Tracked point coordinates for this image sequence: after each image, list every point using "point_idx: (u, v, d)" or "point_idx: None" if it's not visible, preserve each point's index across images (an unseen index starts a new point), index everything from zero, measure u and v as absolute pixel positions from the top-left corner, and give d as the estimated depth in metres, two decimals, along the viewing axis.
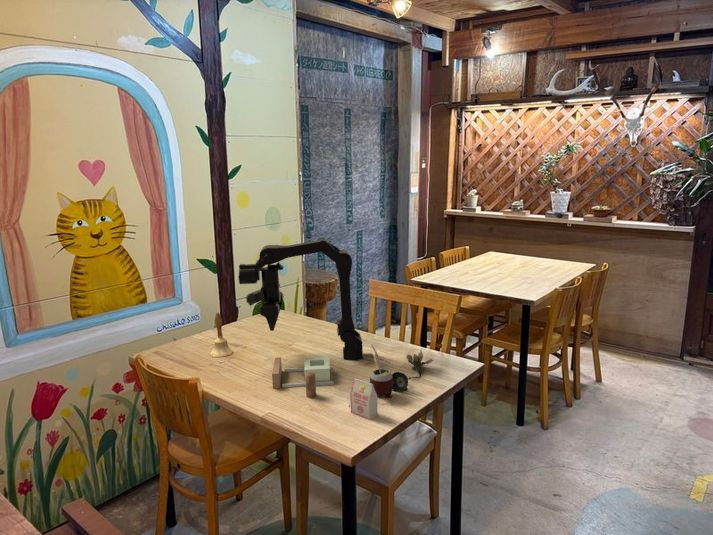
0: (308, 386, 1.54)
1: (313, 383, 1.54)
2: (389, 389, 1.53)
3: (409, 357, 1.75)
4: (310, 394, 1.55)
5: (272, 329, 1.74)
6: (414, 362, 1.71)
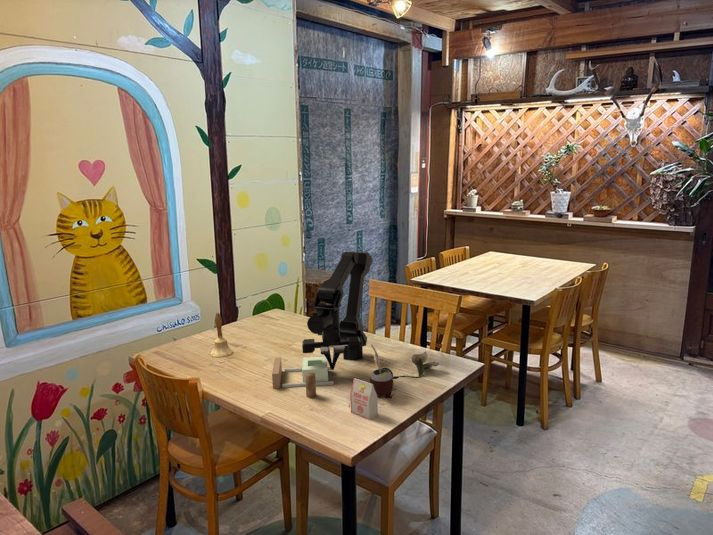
0: (308, 386, 1.54)
1: (313, 383, 1.54)
2: (389, 389, 1.53)
3: (416, 357, 1.76)
4: (310, 394, 1.55)
5: None
6: (416, 362, 1.71)
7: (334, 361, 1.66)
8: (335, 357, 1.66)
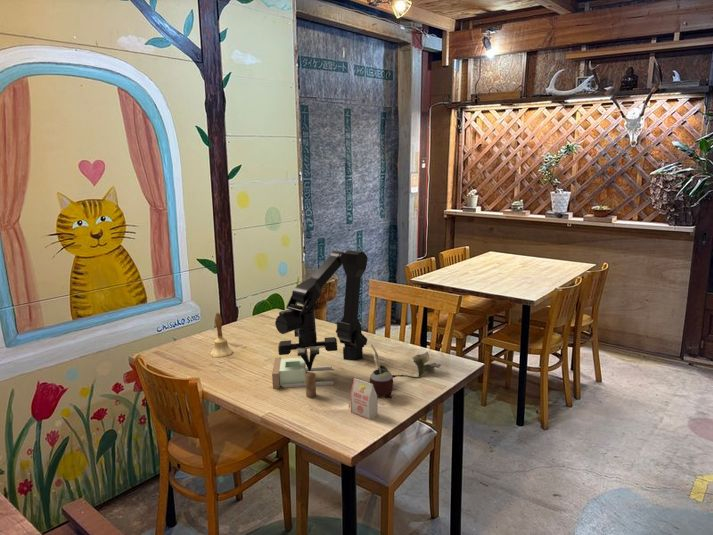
0: (308, 386, 1.54)
1: (313, 383, 1.54)
2: (389, 389, 1.53)
3: None
4: (310, 394, 1.55)
5: None
6: (416, 362, 1.71)
7: (310, 362, 1.66)
8: (311, 358, 1.65)
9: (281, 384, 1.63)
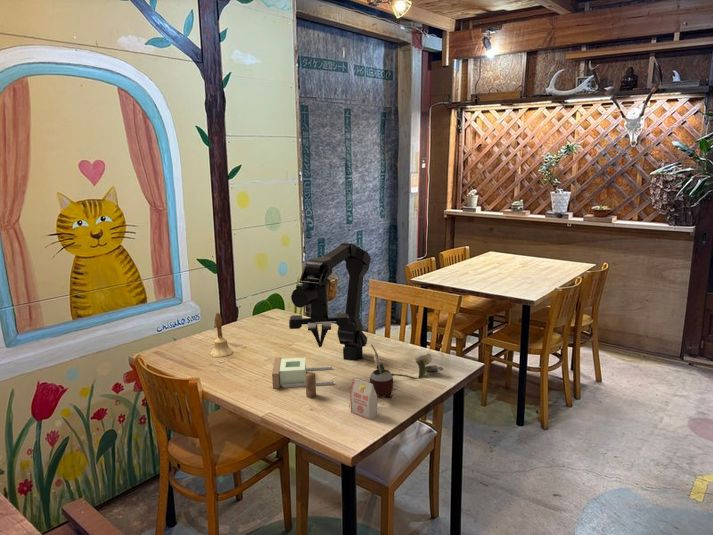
0: (308, 386, 1.54)
1: (313, 383, 1.54)
2: (389, 389, 1.53)
3: None
4: (310, 394, 1.55)
5: (318, 345, 1.65)
6: (418, 363, 1.71)
7: (322, 338, 1.62)
8: (323, 334, 1.62)
9: (281, 384, 1.63)
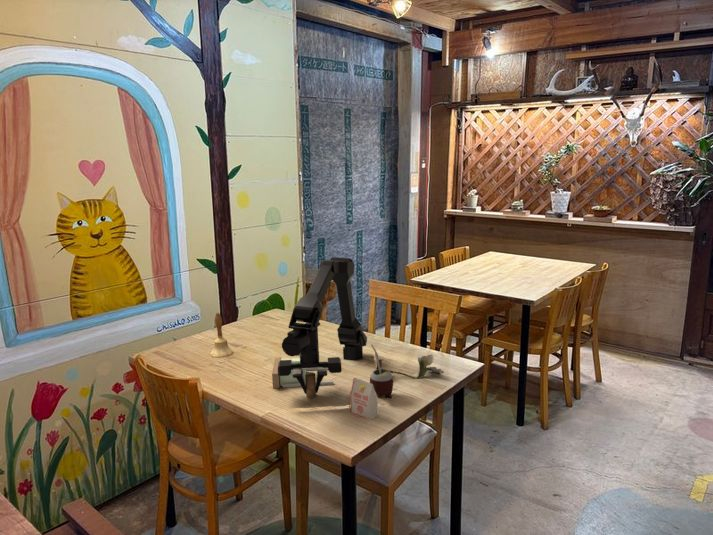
0: (308, 386, 1.54)
1: (313, 383, 1.54)
2: (389, 389, 1.53)
3: None
4: (310, 394, 1.55)
5: (304, 391, 1.56)
6: (419, 363, 1.70)
7: (317, 384, 1.54)
8: (318, 380, 1.53)
9: (281, 384, 1.63)
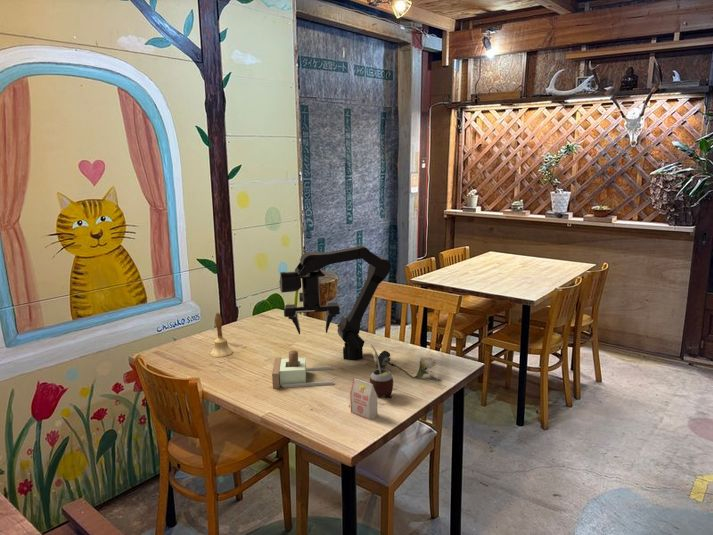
0: (291, 363, 1.66)
1: (296, 360, 1.66)
2: (389, 389, 1.53)
3: (433, 363, 1.70)
4: None
5: (298, 332, 1.78)
6: None
7: (327, 324, 1.76)
8: (328, 320, 1.75)
9: (281, 384, 1.63)
